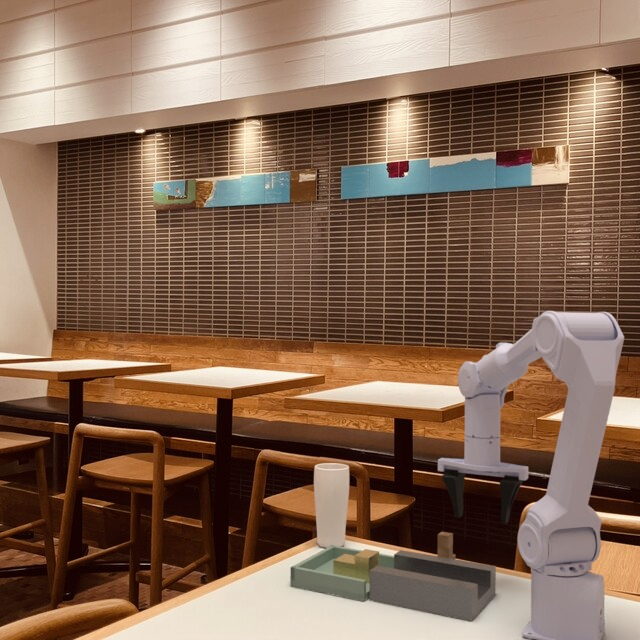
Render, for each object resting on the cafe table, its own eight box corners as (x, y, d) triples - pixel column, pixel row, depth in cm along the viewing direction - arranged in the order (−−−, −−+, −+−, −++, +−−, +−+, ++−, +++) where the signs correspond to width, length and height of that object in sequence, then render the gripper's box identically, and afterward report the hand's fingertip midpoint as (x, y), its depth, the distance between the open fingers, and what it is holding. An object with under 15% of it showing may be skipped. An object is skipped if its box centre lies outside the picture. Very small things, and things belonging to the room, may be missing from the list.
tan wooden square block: (366, 572, 122) (366, 557, 122) (355, 579, 119) (355, 564, 119) (344, 568, 124) (344, 553, 124) (333, 575, 121) (333, 560, 121)
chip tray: (399, 574, 124) (400, 557, 124) (363, 601, 112) (363, 581, 112) (331, 562, 131) (331, 545, 131) (290, 586, 119) (290, 567, 119)
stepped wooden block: (455, 569, 128) (455, 531, 128) (445, 577, 124) (445, 538, 124) (444, 567, 129) (444, 529, 129) (434, 575, 125) (434, 536, 125)
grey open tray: (495, 595, 116) (495, 566, 116) (471, 621, 105) (472, 589, 105) (400, 577, 123) (400, 550, 123) (369, 600, 113) (369, 570, 113)
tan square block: (379, 551, 121) (365, 549, 122) (368, 558, 117) (354, 555, 119) (379, 576, 121) (365, 573, 122) (368, 583, 117) (354, 580, 119)
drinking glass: (345, 551, 137) (346, 470, 137) (309, 549, 138) (310, 468, 139) (351, 541, 144) (352, 463, 144) (317, 538, 145) (318, 462, 145)
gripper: (533, 436, 121) (532, 519, 121) (448, 429, 128) (447, 508, 128) (522, 442, 115) (521, 530, 115) (433, 434, 122) (432, 517, 122)
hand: (481, 519), depth 121 cm, fingers open, 7 cm apart
